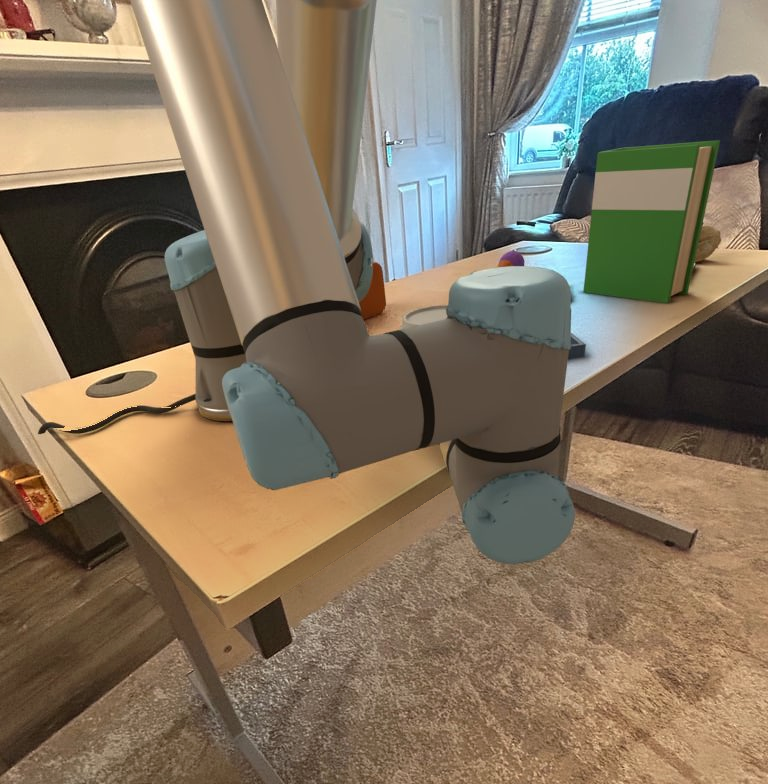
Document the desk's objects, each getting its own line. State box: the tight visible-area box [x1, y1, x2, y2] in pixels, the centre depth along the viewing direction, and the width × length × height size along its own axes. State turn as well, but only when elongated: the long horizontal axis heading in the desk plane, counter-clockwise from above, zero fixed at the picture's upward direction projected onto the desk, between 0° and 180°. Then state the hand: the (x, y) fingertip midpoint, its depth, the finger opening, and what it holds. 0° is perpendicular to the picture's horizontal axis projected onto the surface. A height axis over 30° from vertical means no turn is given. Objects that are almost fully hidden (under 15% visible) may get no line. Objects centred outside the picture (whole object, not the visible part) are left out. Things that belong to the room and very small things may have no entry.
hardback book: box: [582, 139, 721, 304], centre depth 98 cm, size 18×7×24 cm, turn 38°
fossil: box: [694, 225, 722, 263], centre depth 119 cm, size 9×4×10 cm
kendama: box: [496, 250, 525, 268], centre depth 119 cm, size 6×6×20 cm
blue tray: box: [568, 332, 587, 360], centre depth 84 cm, size 13×11×2 cm
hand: (441, 357), depth 66 cm, fingers open, 13 cm apart
